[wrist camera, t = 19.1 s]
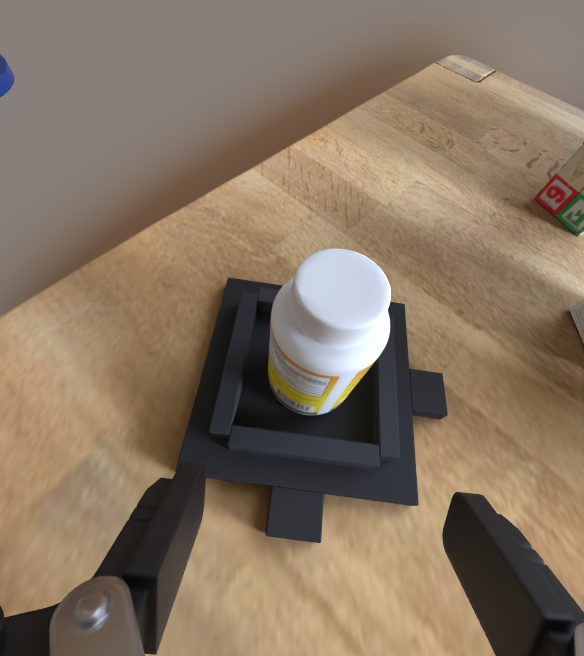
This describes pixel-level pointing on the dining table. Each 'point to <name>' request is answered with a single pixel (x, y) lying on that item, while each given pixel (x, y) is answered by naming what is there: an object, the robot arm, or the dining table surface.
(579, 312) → the product carton
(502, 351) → the dining table surface
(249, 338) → the black tray
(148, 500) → the robot arm
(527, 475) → the dining table surface
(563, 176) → the stack of blocks
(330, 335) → the supplement bottle
